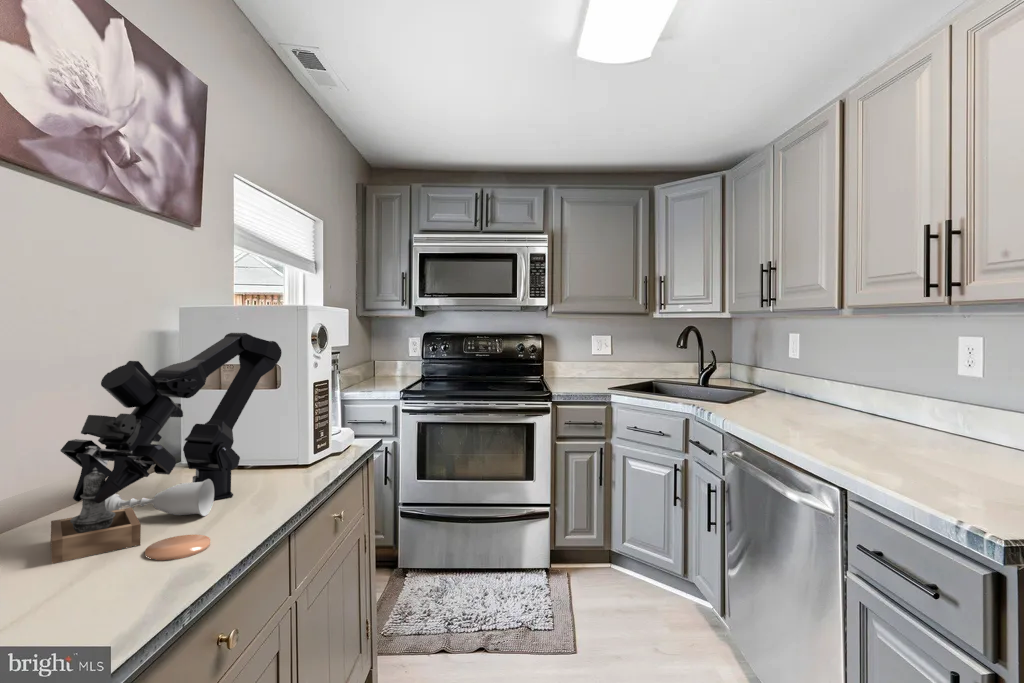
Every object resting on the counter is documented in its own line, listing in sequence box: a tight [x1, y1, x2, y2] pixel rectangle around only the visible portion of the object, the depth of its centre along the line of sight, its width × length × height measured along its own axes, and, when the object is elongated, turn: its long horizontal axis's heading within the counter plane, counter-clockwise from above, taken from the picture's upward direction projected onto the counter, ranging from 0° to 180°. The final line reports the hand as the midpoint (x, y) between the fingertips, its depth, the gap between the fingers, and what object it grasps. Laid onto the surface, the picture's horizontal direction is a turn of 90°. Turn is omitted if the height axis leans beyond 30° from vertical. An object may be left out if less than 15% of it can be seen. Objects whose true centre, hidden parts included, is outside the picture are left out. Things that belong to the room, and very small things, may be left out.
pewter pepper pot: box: [70, 467, 116, 533], centre depth 86 cm, size 6×6×12 cm
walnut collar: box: [50, 507, 142, 565], centre depth 86 cm, size 11×11×4 cm
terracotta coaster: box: [144, 534, 211, 561], centre depth 85 cm, size 9×9×1 cm
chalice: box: [105, 479, 215, 517], centre depth 99 cm, size 7×7×18 cm
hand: (85, 501), depth 85 cm, fingers closed on pewter pepper pot, 4 cm apart
